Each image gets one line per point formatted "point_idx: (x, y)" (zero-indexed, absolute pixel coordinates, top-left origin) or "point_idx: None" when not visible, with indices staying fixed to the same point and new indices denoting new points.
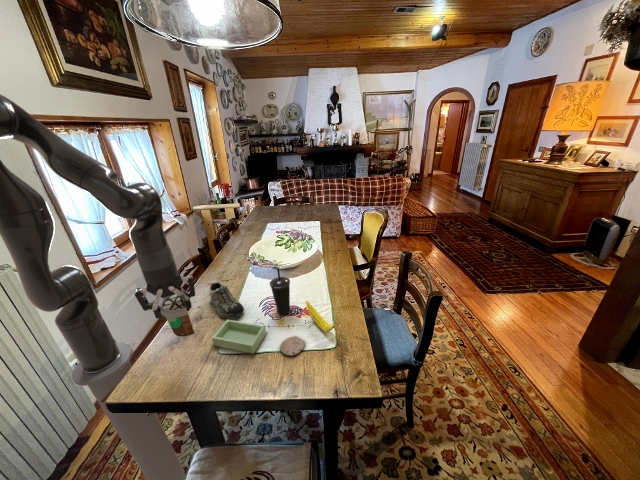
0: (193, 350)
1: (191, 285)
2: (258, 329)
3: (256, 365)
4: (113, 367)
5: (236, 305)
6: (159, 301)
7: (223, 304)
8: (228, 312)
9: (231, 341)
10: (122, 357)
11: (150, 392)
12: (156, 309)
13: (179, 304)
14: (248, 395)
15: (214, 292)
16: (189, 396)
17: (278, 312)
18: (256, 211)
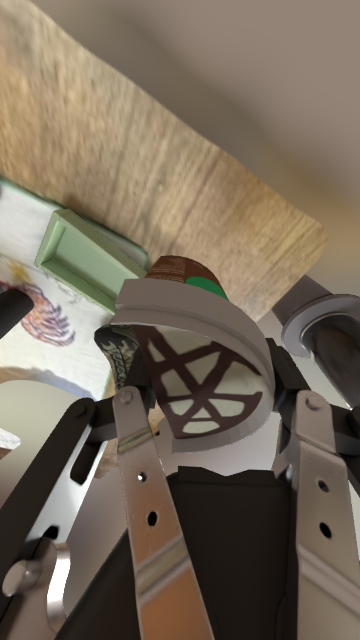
0: None
1: (12, 524)
2: (56, 268)
3: (57, 162)
4: (318, 311)
5: (103, 345)
6: (299, 453)
7: (129, 357)
8: (121, 337)
9: (108, 254)
10: (300, 325)
11: (280, 218)
12: (295, 391)
13: (174, 376)
14: (64, 38)
15: None
16: (213, 151)
17: (26, 299)
18: (99, 478)
